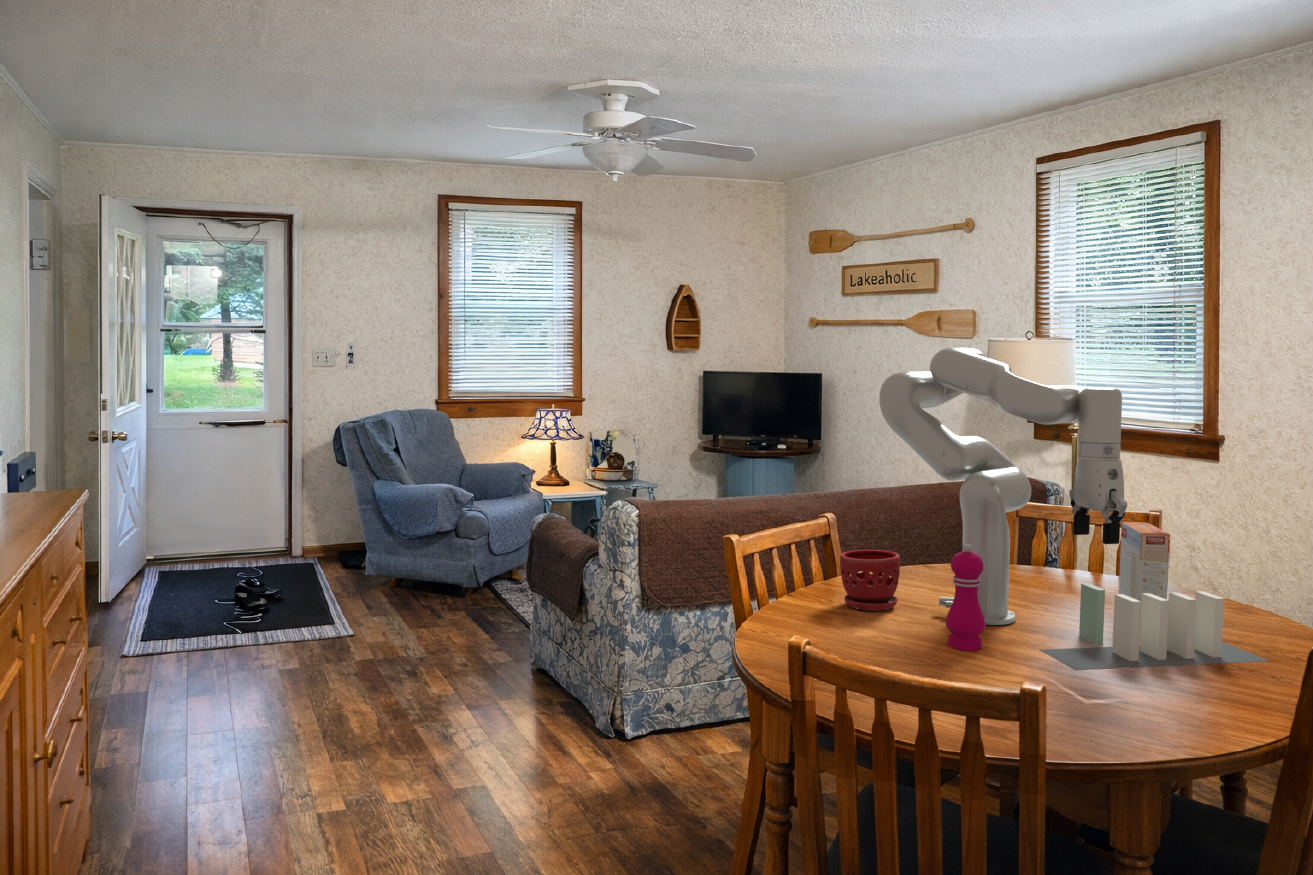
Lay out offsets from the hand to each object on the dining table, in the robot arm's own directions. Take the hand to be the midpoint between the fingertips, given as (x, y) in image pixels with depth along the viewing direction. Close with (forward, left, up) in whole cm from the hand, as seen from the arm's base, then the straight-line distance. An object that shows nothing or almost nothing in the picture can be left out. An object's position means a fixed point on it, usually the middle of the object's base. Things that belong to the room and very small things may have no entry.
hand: (1095, 539), depth 190 cm
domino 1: (+4, -10, -20) cm, 23 cm away
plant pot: (-43, +19, -21) cm, 51 cm away
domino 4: (+19, -5, -20) cm, 28 cm away
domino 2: (+9, -9, -20) cm, 23 cm away
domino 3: (+14, -7, -20) cm, 25 cm away
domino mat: (+9, -8, -20) cm, 24 cm away
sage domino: (0, 0, -20) cm, 20 cm away
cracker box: (+12, +14, -21) cm, 28 cm away
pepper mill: (-25, -8, -21) cm, 33 cm away
